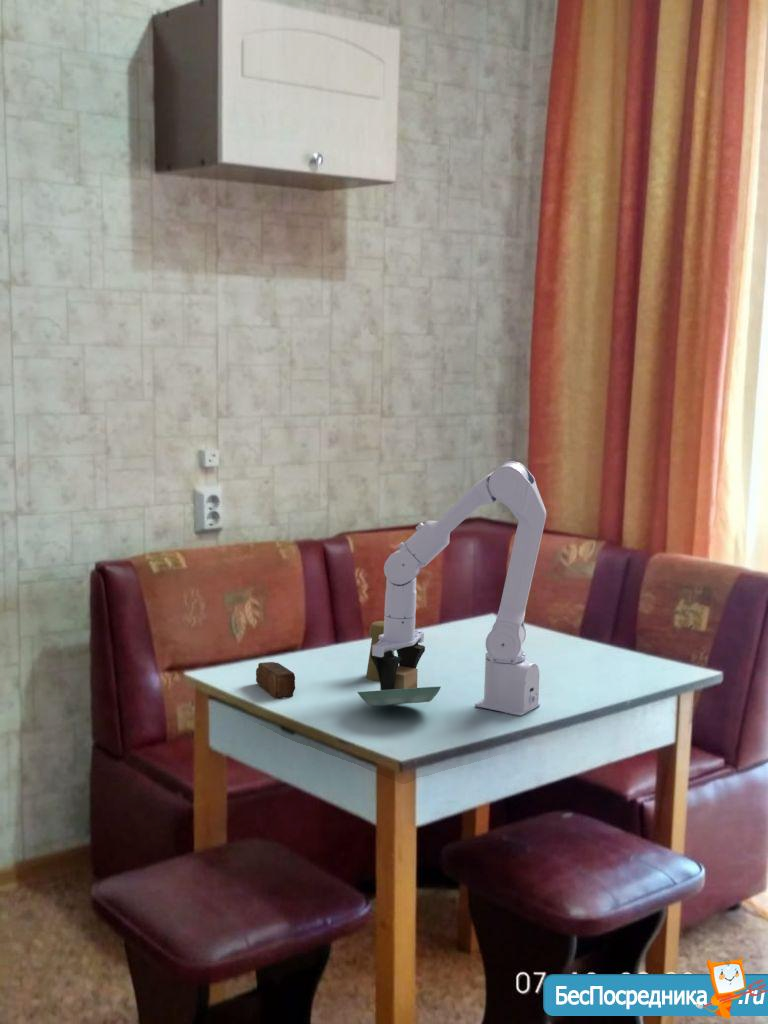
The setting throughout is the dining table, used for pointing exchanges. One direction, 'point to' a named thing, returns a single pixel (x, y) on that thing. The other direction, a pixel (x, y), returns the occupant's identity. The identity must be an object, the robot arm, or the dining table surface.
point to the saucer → (399, 696)
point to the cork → (374, 632)
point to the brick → (275, 679)
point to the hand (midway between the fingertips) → (396, 686)
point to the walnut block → (405, 678)
